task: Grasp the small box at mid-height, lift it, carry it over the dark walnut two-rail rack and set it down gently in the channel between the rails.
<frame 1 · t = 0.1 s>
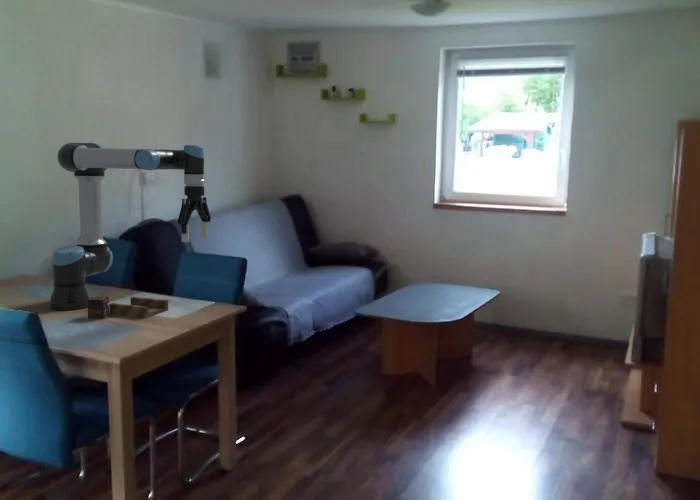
hand: (194, 240, 267), 28 cm above the table, fingers open, 13 cm apart
rack: (139, 312, 266), on the table
box: (98, 317, 257), on the table
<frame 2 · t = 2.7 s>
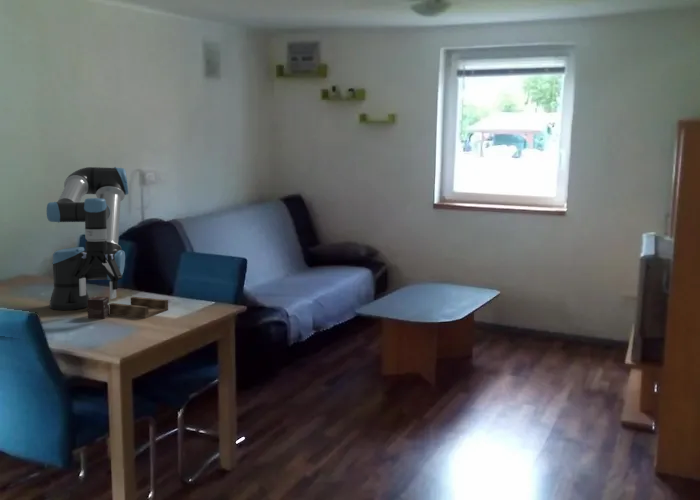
hand: (97, 296, 256), 8 cm above the table, fingers open, 13 cm apart
nothing on the table moved.
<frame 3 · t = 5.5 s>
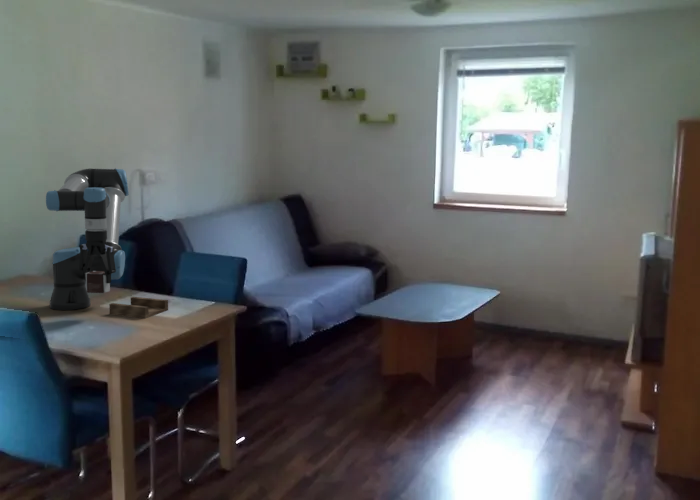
hand: (98, 290, 256), 10 cm above the table, fingers closed on box, 7 cm apart
box: (98, 292, 256), point 9 cm above the table, touching gripper
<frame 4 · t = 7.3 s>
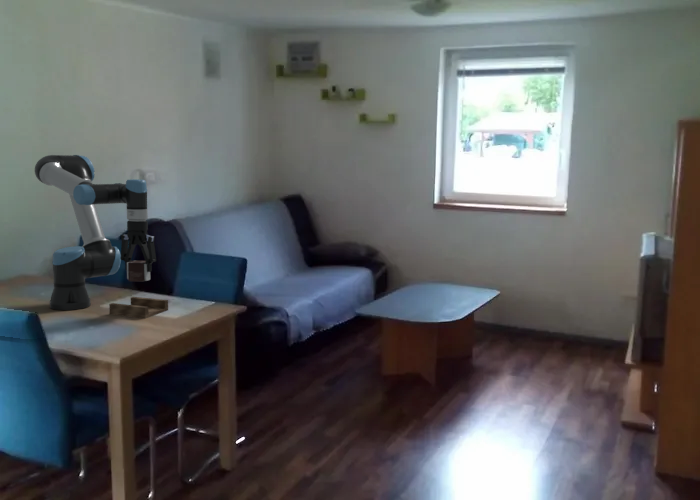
hand: (138, 279, 264), 13 cm above the table, fingers closed on box, 7 cm apart
box: (138, 280, 264), point 12 cm above the table, touching gripper
when the fingers open (4 cm above the table, at t = 9.6 s): box drops 2 cm, resting on rack.
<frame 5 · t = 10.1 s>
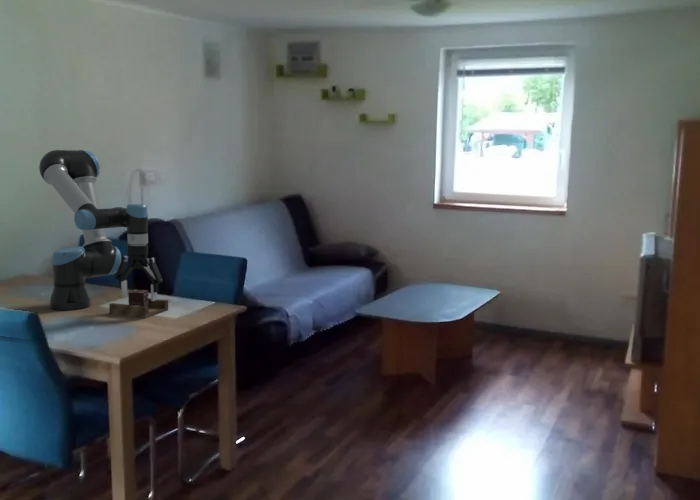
hand: (139, 299, 265), 5 cm above the table, fingers open, 13 cm apart
box: (139, 310, 266), point 1 cm above the table, touching rack
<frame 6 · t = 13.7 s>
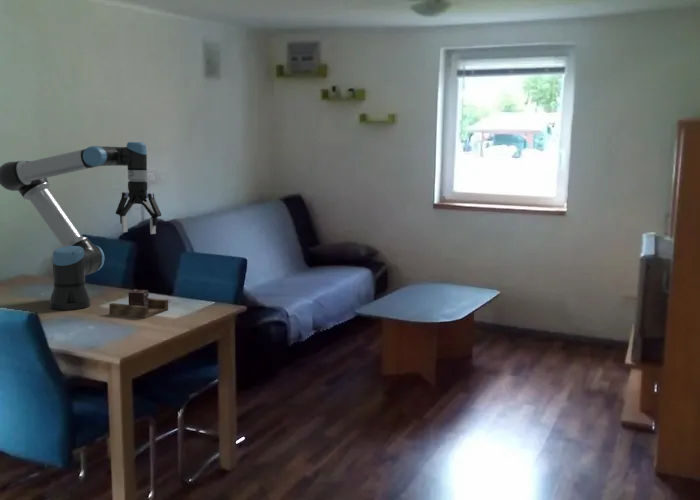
hand: (138, 232, 281), 29 cm above the table, fingers open, 13 cm apart
nothing on the table moved.
at the end: box inside the target area on the rack (0.2 cm from its centre), point 0.8 cm above the rack's base; box tilted 0°; the gripper is holding nothing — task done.
